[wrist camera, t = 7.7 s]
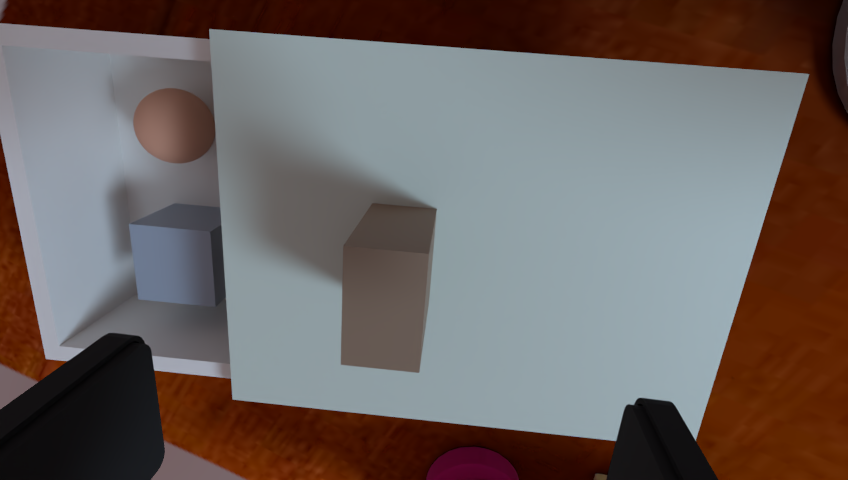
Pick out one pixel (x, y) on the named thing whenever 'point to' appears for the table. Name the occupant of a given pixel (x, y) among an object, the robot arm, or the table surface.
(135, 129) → the coral ball
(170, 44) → the storage box
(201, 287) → the slate block
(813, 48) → the table surface
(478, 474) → the pepper mill
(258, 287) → the lid
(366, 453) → the table surface
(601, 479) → the candy box
